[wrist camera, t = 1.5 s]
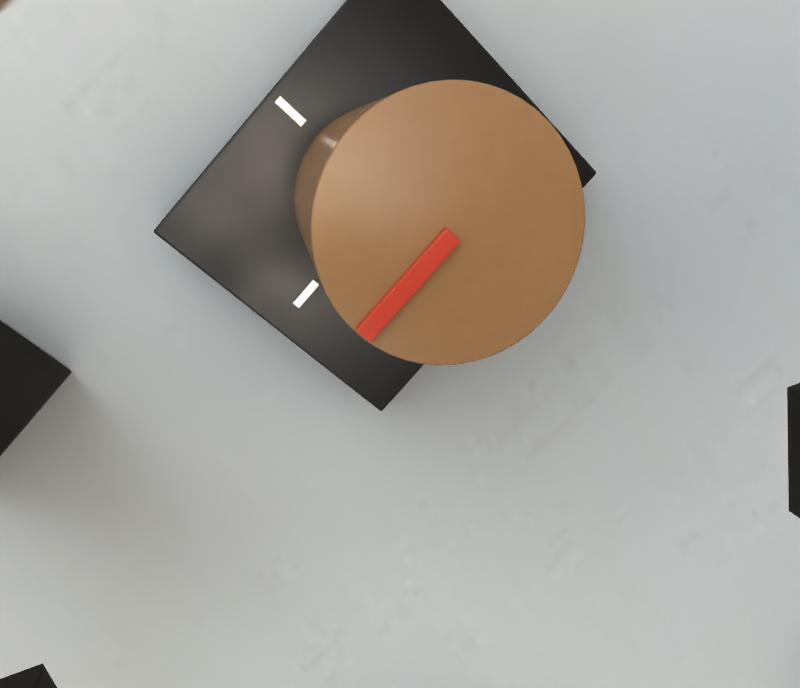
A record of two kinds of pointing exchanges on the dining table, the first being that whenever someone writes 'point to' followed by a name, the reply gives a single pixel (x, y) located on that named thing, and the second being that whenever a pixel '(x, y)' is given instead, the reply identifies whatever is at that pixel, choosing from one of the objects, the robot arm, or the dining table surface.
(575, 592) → the dining table surface
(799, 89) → the dining table surface
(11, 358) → the tissue box
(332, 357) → the control knob panel
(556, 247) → the tan pointer knob
